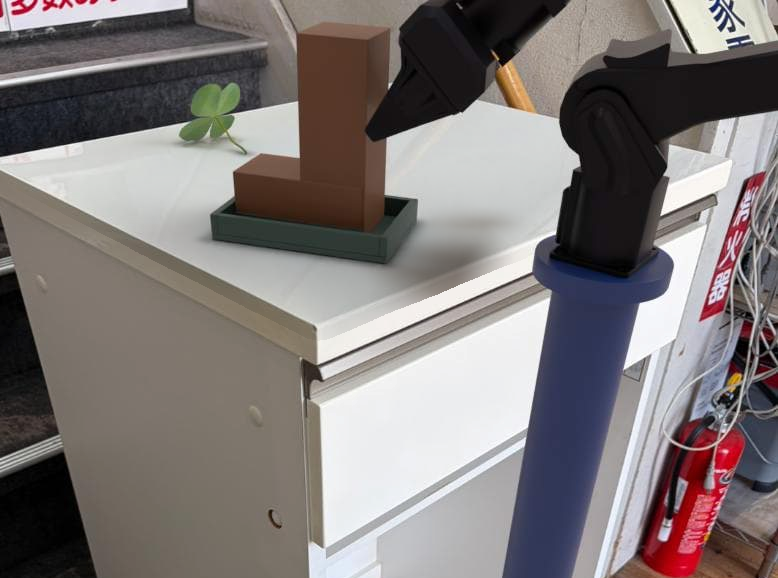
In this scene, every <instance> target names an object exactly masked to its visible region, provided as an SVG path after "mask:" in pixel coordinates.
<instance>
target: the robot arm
mask: <svg viewBox="0 0 778 578" xmlns="http://www.w3.org/2000/svg"><path fill="white" fill-rule="evenodd" d="M571 1H572V0H427V1H424V2H422V3H421V4H420V5H419V6H418V7H416V9H415V10H414V11H413V12H412V13H411V15H409V17H408V18H407V19H406V20H405V21H404V22H403V23H402V24H401V26H399V27H398V31H399V34H398V39H397V42H398V43H397V44H398V46H399V48H400V69H399V71H398V73H397V74H396V77H394V80H393V81H392V83H391V85H390V87H388V91H387V93H386V95H385V96H384V98H383V100H382V101H381V103H380V104H379V106H378V108H377V109H376V111H375V113H374V114H373V116H372V118H371V119H370V121H369V123H368V124H367V126H366V127H365V133H366V134H367V136H368V137H369V138H370V139H371V141H373V142H377V141H380V140H382V139H385V138H387V139H388V138H390V137H394V136H396V135H398V134H402V133H404V132H407V131H409V130H412V129H416V128H418V127H421V126H423V125H427V124H430V123H432V122H435V121H439V120H441V119H444V118H447V117H450V116H457V115H459V114H460V113H461V114H463V113H464V112H466V110H467V109H468V108H470V107H471V106H472V105H473V104H474V103H475V102H476V101H477V100H478V99H479V98H480V97H481V96H482V95H484V94H485V92H486V91H487V90H488V89H489V88H490V87H491V85H492V84H493V83H494V82H495V76H496V73H497V72H498V71H499V70H500V69H501V68H503V67H505V66H506V65H507V64H508V63H509V62H510V61H512V59H513V58H514V57H515V56H516V55H518V53H520V51H521V50H522V49H523V48H524V47H525V46H526V45H527V43H528V42H529V41H530V40H531V39H532V38H534V36H536V34H537V33H539V32H540V31H541V30H542V29H543V28H544V27H545V26H546V25H547V24H548V23H549V22H551V20H552V19H554V18H556V17H557V16H558V15H559V14H560V13H561V12H562V11H563V10H564V9H565V8H567V6H568V5H569V3H570V2H571ZM458 4H459V5H458ZM672 36H673V30H672V29H671V28H667V29H664V30H662V31H658V32H656V33H652V34H650V35H648V36H645V37H643V38H639V39H635V40H621V39H616V38H612V39H610V41H609V43H608V45H607V48H606V50H605V51H603V52H600V53H598V54H595V55H593V56H591V57H590V58H589V59H587V60H586V61H585V62H584V63H583V64H582V65H581V67H580V68H579V69H578V71H577V72H576V74H575V75H574V76H573V79H572V80H571V81H570V83H569V86H568V87H567V90H566V92H565V94H564V96H563V99H562V101H561V104H560V107H559V116H558V117H559V119H558V124H559V128H560V134H561V137H562V138H563V140H564V141H565V144H566V145H567V146H568V148H569V149H570V150H571V151H573V152H574V153H575V154H576V155H578V159H579V160H578V161H579V166H576V167H575V168H574V169H572V172H571V173H572V175H571V179H570V185H568V186H566V187H565V188H564V189H562V190H563V191H562V195H561V201H560V207H559V212H558V213H559V214H558V218H557V225H556V231H555V235H556V236H555V241H556V243H557V244H560V245H558V246H557V247H555V248H554V249H552V250H550V254H549V257H550V258H551V259H554V260H558V261H561V262H565V263H569V264H572V265H576V266H579V267H583V268H586V269H590V270H594V271H597V272H601V273H604V274H608V275H612V276H615V277H619V278H625V279H626V278H629V277H631V276H632V275H633V274H634V273H636V272H637V271H638V270H640V269H641V268H642V267H644V266H645V265H646V264H647V263H649V262H650V261H651V260H653V259H654V258H655V257H657V256H658V253H659V249H658V248H656V247H653V245H655V244H654V243H655V241H656V240H655V239H656V236H657V232H658V227H659V223H660V219H661V215H662V211H663V207H664V203H665V199H666V196H667V191H668V187H669V183H670V180H671V179H670V176H668V175H665V174H666V172H667V170H668V164H669V154H670V143H671V142H670V141H671V138H674V137H675V136H677V135H680V134H681V133H684V132H686V131H688V130H690V129H692V128H694V127H696V126H700V125H703V124H705V123H711V122H717V121H723V120H729V119H736V118H742V117H748V116H755V115H762V114H768V113H772V112H773V113H774V112H778V39H777V40H772V41H766V42H761V43H757V44H756V43H755V44H751V45H750V44H749V45H745V46H738V47H734V48H729V49H723V50H718V51H713V52H709V53H707V52H706V53H692V52H682V51H671V43H672ZM497 58H498V59H497Z"/></svg>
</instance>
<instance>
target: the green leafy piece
mask: <svg viewBox="0 0 778 578" xmlns="http://www.w3.org/2000/svg"><path fill="white" fill-rule="evenodd" d="M240 89H241V88H240V86H239V85H238V84H237V83H235V82H229V84H228V85H226V87H224V88H223V89H222V88H221V86H220V85H219V84H215V83H209V84H205V85H203V86H201V87H200V88H198V90H196V92H195V93H194V95H193V97H192V101H191V105H190V112H191V114H192V115H193V116H195V117H198V118H196V119H193V120H192V121H190V122H188V123H186V124H185V125H184V126H183V127H181V129H180V131H179V133H178V137H179V138H180V139H181V140H183V141H185V142H198V141H201V140H203V139H204V138H205V136H206V135H207V134H208V132H209V138H210V139H212V140H214V139H217V138H220V137H221V136H223V135H224V134H226V136H227V137H228V139H229V140H230V142H231V143H233V144H234V145H235V146H236V147H238V148H239V149H241V150H242V151H243V153H244V154H245V155H247V154H248V152H247V150H246V148H244V147H243V146H242V145H240V144H238V143H237V142H236V141H235V140H234V139H233V138H232V137H231V134H230V133H229V131H228V130H230V128H232V126H233V124H234V122H235V120H236V119H235V115H234V114H227V113H230V112H231V111H232V110H234V109H235V108H236V107H237V106H238V105H239V103H240V98H241V90H240ZM224 114H227V115H224Z"/></svg>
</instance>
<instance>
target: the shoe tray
mask: <svg viewBox="0 0 778 578" xmlns="http://www.w3.org/2000/svg"><path fill="white" fill-rule="evenodd" d="M418 207H419V199H418V198H413V197H404V196H398V195H388V194H385V201H384V219H383V220H382V221H381V222H380V223H379V224H378V225H377V226H376V227H375V228H374V229H373V230H372V232H371V233H364V232H357V231H350V230H342V229H335V228H327V227H320V226H312V225H305V224H297V223H290V222H283V221H275V220H268V219H260V218H253V217H245V216H238V215H234V212H235V211H236V208H235V195H233V196H232V197H231V198H229V199H228V200H227V201H225V203H223V204H222V205H220V206H219V207H218V208H217V209H215V210H214V211H212V212H211V213H210V214H209V219H210V231H211V238H212V239H211V240H215V241H216V240H217V241H223V242H229V243H237V244H244V245H252V246H258V247H265V248H274V249H279V250H280V249H281V250H287V251H288V250H289V251H293V252H300V253H307V254H316V255H323V256H329V257H337V258H343V259H351V260H357V261H363V262H364V261H365V262H370V263H371V262H372V263H379V264H387V263H388V262H389V261H390V260H391V258H392V257H393V255H394V254H395V252H396V251H397V250H398V249H399V248H400V245H401V244H402V243H403V242H404V240H405V239H406V238H407V236H408V235H409V234H410V232H411V231H412V229H414V227H415V226H416V224H417V222H418Z"/></svg>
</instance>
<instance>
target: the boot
mask: <svg viewBox="0 0 778 578" xmlns="http://www.w3.org/2000/svg"><path fill="white" fill-rule="evenodd" d="M391 30H392V29H391V27H389V26H376V25H365V24H354V23H344V22H343V23H342V22H329V21H322V22H319V23H316V24H314V25H312V26H309V27H307V28H305V29H302V30H300V31H298V32H296V33H295V41H296V42H295V43H296V73H297V74H296V76H297V78H296V79H297V80H296V81H297V111H298V114H297V115H298V146H299V147H298V148H299V149H298V150H299V152H298V153H299V157H295V156H286V155H280V154H270V153H262V152H261V153H259V154H257V155H255V156H254V157H253V158H251V159H249V160H248V161H247V162H245V163H243V164H242V165H241V166H239V167H238V168H236V169H234V170H232V179H233V182H232V183H233V193H234V195H233V196H235V208H236V211H235V212H234V215H238V216H245V217H253V218H260V219H268V220H275V221H283V222H290V223H297V224H305V225H312V226H320V227H327V228H335V229H342V230H350V231H357V232H364V233H371V232H372V230H373V229H374V228H375V227H376V226H377V225H378V224H379V223H380V222H381V221H382V220H383V219H384V201H385V195H386V172H387V171H386V170H387V141H388V140H387V139H388V138H385V139H382V140H380V141H377V142H373V141H371V139H370V138H369V137H368V136H367V134H366V133H365V127H366V126H367V124H368V123H369V121H370V119H371V118H372V116H373V114H374V113H375V111H376V109H377V108H378V106H379V104H380V103H381V101H382V100H383V98H384V96H385V95H386V93H387V91H388V90H389V88H390V87H389V85H390V84H389V83H390V56H391Z"/></svg>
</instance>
